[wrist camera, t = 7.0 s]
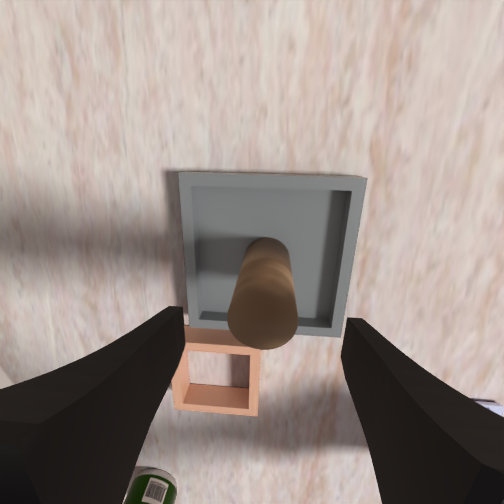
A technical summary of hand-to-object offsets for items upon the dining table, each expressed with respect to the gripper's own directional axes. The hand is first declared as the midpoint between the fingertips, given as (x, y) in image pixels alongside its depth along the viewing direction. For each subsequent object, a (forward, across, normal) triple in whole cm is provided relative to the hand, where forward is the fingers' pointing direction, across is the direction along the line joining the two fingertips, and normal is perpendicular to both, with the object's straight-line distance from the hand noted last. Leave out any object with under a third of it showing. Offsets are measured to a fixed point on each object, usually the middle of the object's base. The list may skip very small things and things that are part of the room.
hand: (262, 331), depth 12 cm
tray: (+10, 0, 0) cm, 10 cm away
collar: (+10, +4, +11) cm, 15 cm away
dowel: (+9, 0, 0) cm, 9 cm away
